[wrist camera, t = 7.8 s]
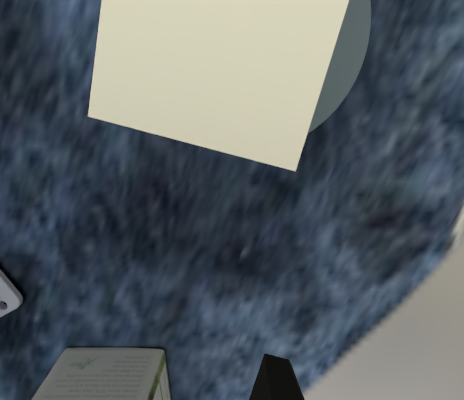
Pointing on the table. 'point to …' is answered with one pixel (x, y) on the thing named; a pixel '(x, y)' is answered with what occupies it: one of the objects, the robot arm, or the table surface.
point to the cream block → (216, 71)
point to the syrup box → (107, 375)
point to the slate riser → (344, 60)
